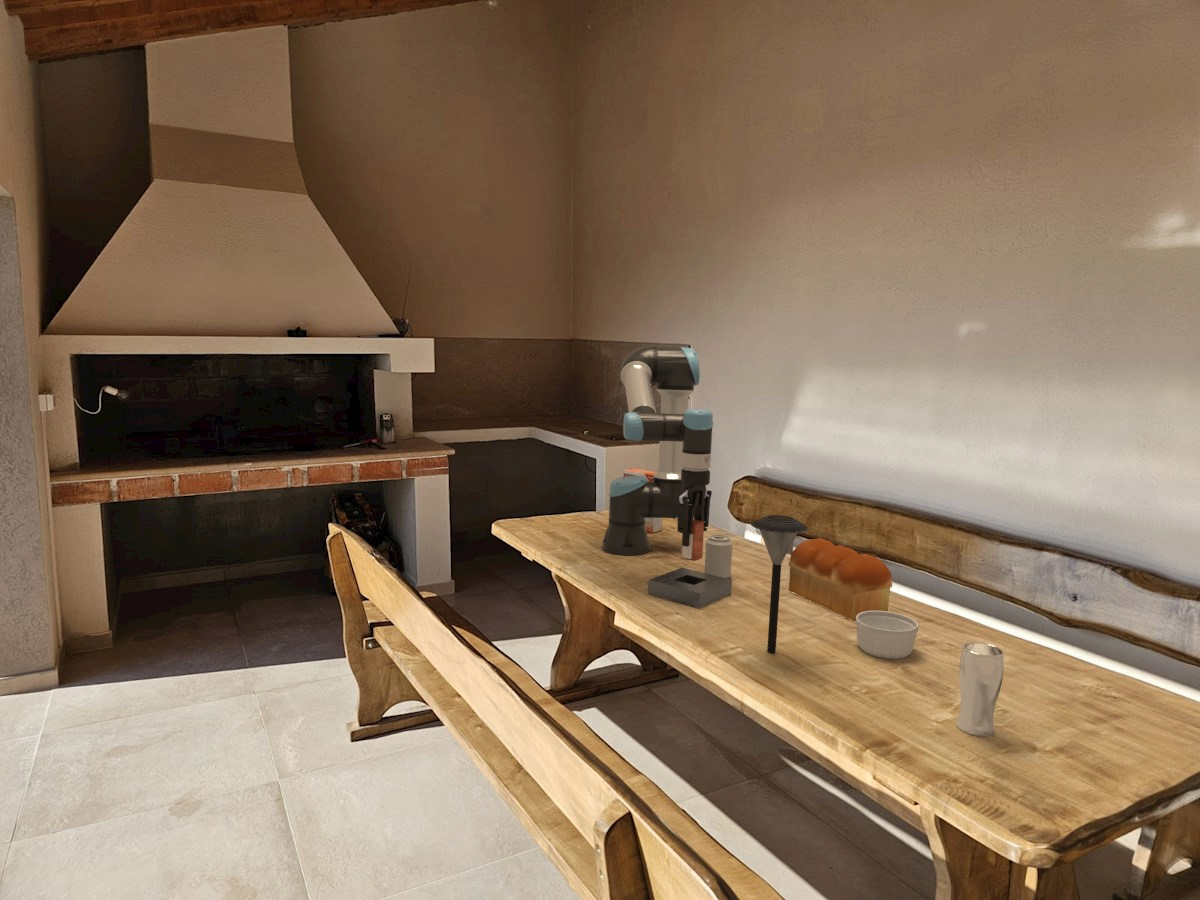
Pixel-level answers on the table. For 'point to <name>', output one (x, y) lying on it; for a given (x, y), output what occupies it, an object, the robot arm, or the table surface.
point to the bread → (839, 578)
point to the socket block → (690, 587)
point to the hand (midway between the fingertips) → (691, 556)
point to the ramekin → (886, 634)
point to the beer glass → (979, 687)
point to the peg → (697, 540)
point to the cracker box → (650, 523)
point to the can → (718, 556)
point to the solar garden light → (777, 559)
